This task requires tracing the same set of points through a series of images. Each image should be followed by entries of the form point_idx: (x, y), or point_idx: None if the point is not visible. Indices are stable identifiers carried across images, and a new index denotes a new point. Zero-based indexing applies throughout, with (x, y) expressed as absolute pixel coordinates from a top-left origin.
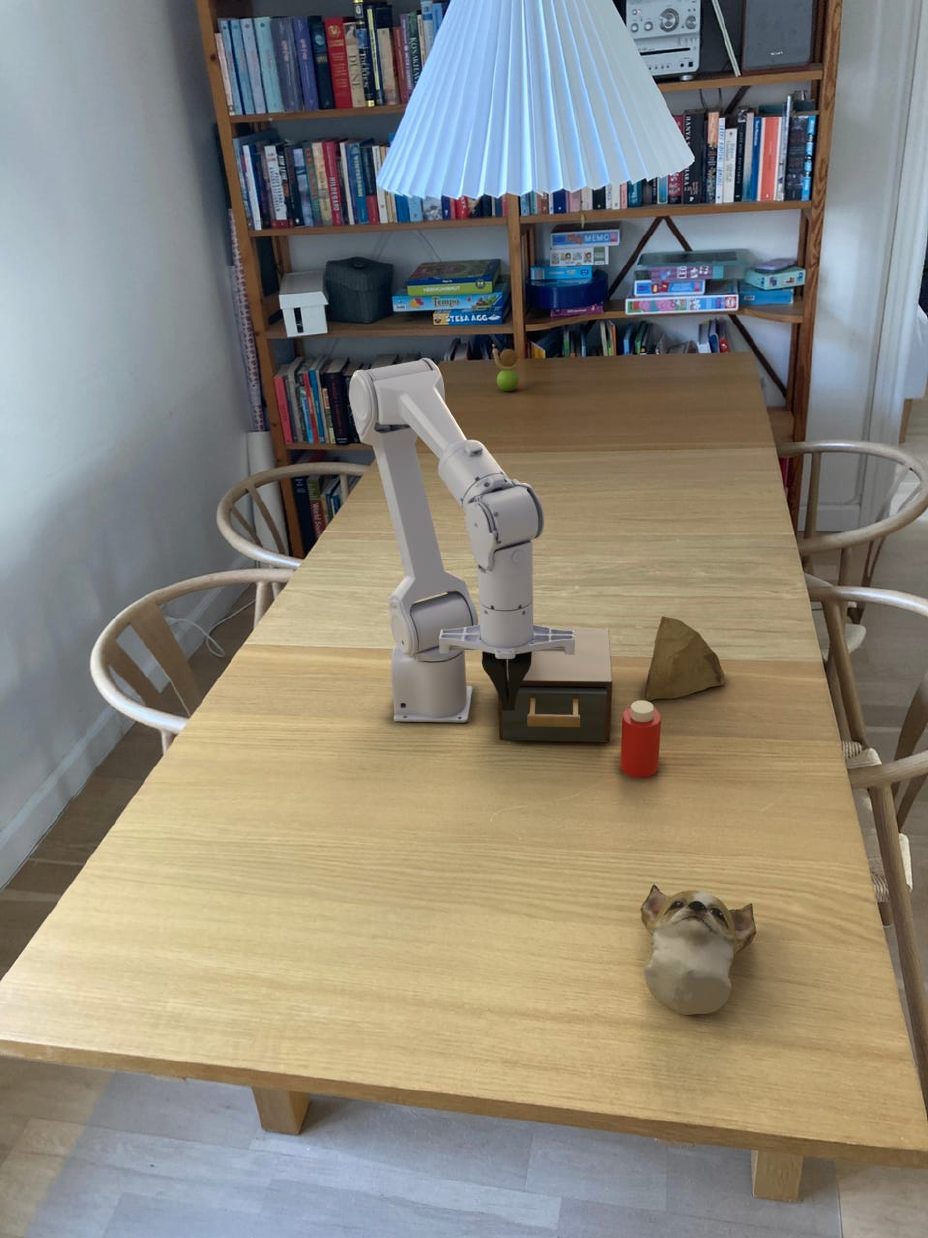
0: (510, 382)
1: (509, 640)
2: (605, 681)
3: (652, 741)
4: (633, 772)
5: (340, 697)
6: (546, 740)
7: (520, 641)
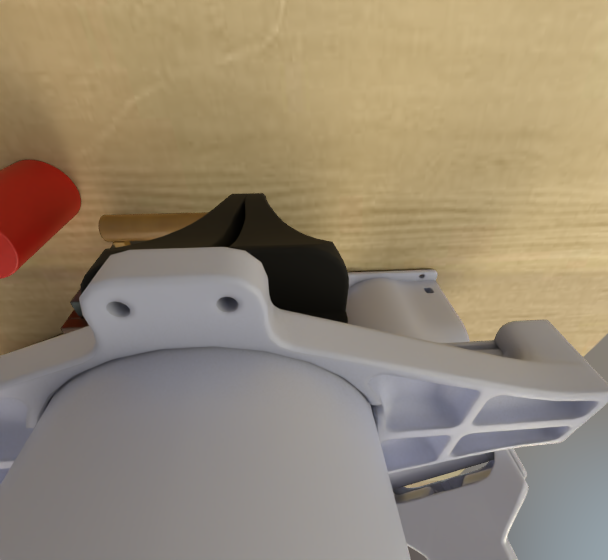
0: None
1: (128, 422)
2: (74, 328)
3: None
4: (36, 164)
5: (494, 307)
6: None
7: (52, 417)
